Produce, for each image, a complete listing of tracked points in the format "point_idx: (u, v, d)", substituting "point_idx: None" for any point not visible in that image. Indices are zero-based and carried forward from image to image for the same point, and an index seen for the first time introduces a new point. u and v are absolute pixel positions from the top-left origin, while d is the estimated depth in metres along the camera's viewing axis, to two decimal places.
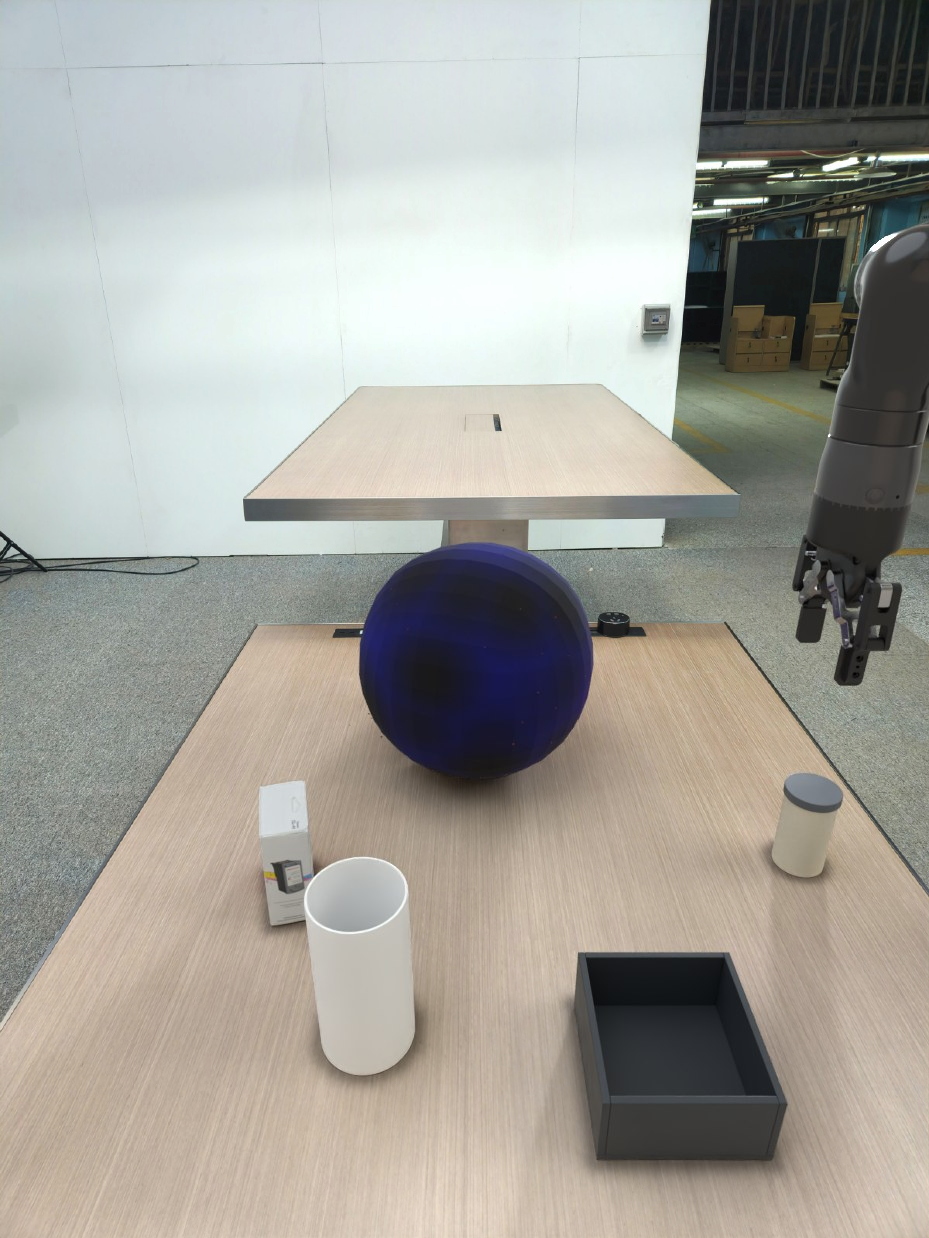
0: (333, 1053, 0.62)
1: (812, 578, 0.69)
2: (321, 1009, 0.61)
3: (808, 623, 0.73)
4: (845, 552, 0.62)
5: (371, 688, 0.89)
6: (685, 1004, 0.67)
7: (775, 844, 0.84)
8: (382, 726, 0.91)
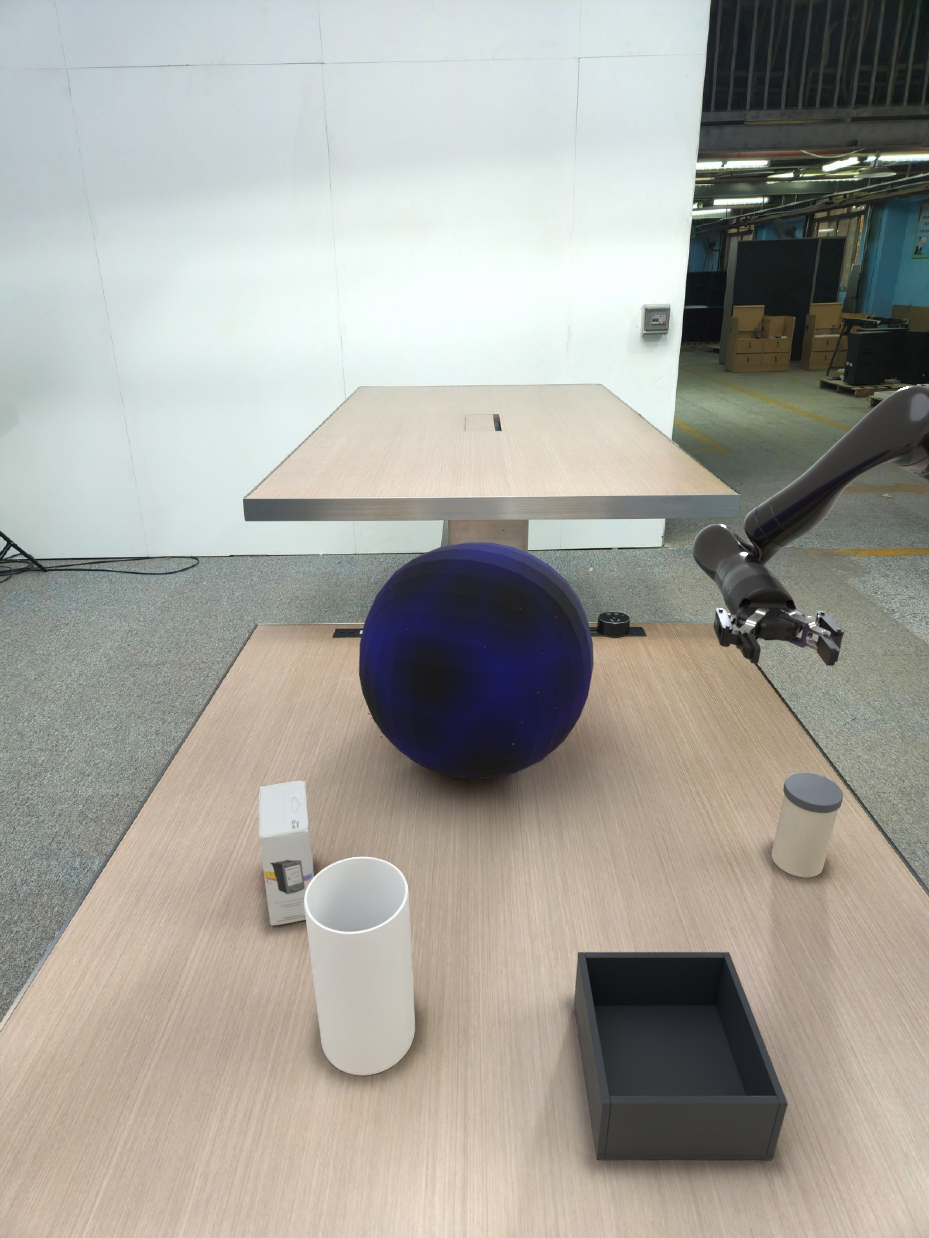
0: (333, 1053, 0.62)
1: None
2: (321, 1009, 0.61)
3: (822, 652, 0.88)
4: None
5: (371, 688, 0.89)
6: (685, 1004, 0.67)
7: (775, 844, 0.84)
8: (382, 726, 0.91)
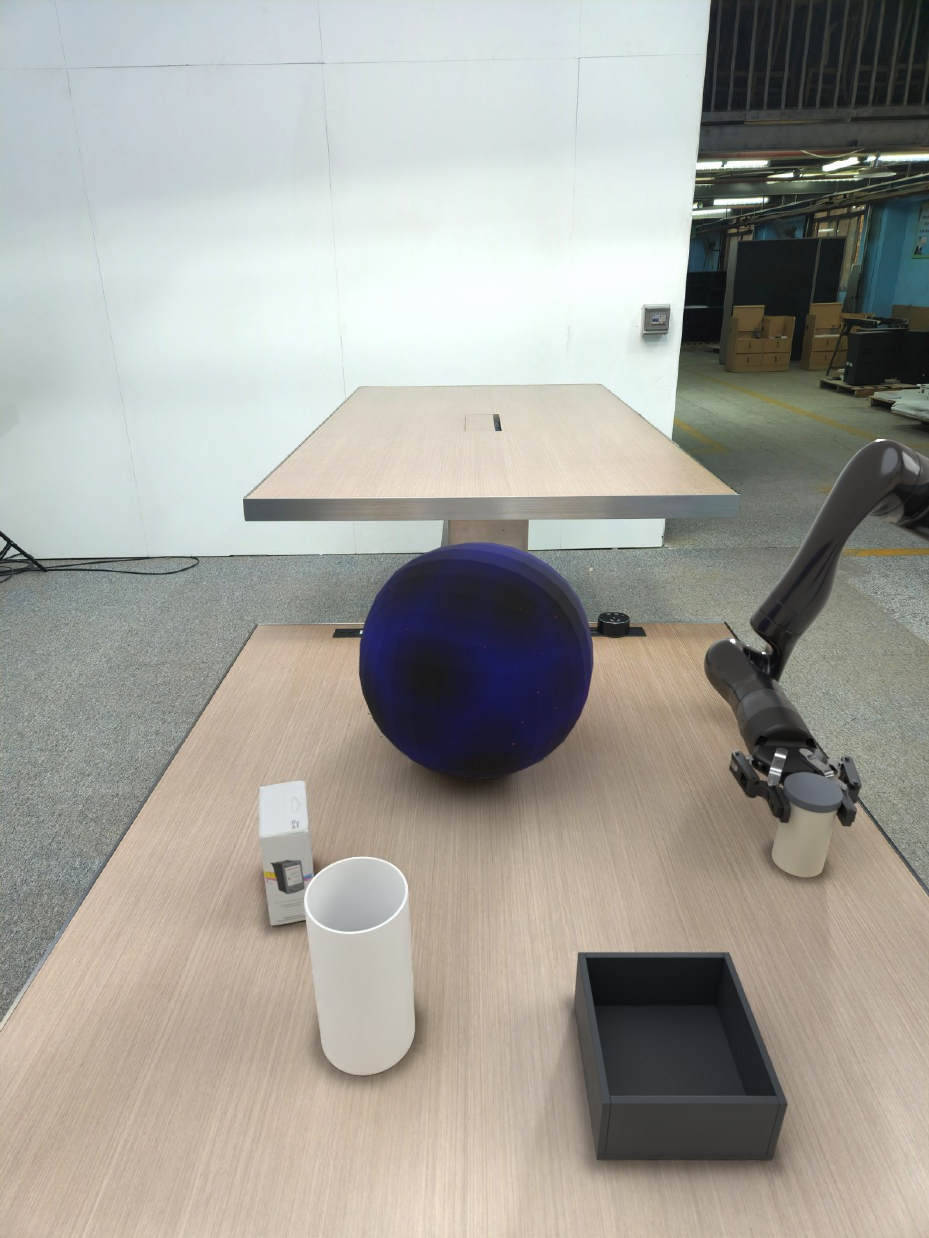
0: (333, 1053, 0.62)
1: None
2: (321, 1009, 0.61)
3: None
4: None
5: (371, 688, 0.89)
6: (685, 1004, 0.67)
7: (775, 844, 0.84)
8: (382, 726, 0.91)
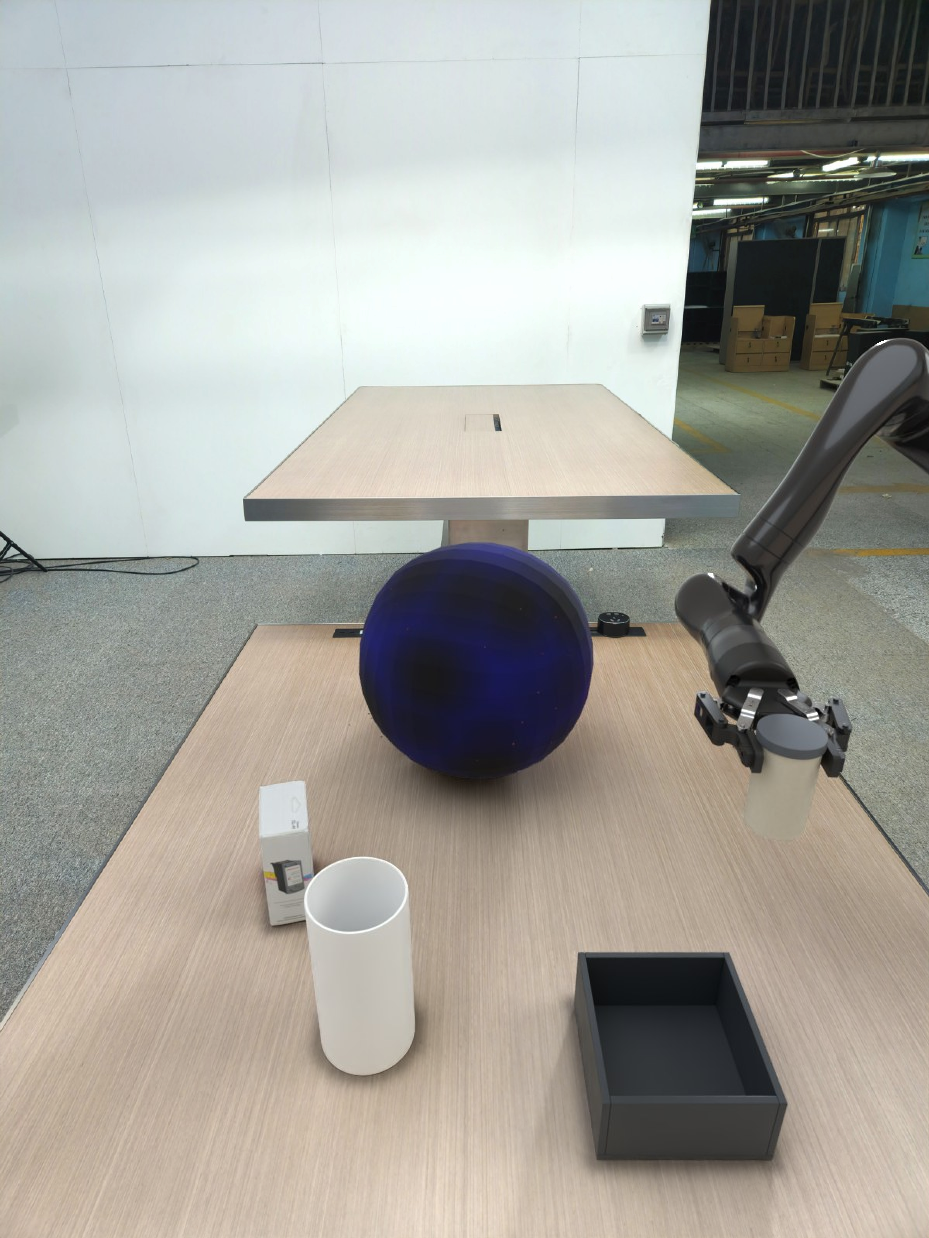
0: (333, 1053, 0.62)
1: None
2: (321, 1009, 0.61)
3: (822, 758, 0.66)
4: None
5: (371, 688, 0.89)
6: (685, 1004, 0.67)
7: (747, 802, 0.69)
8: (382, 726, 0.91)
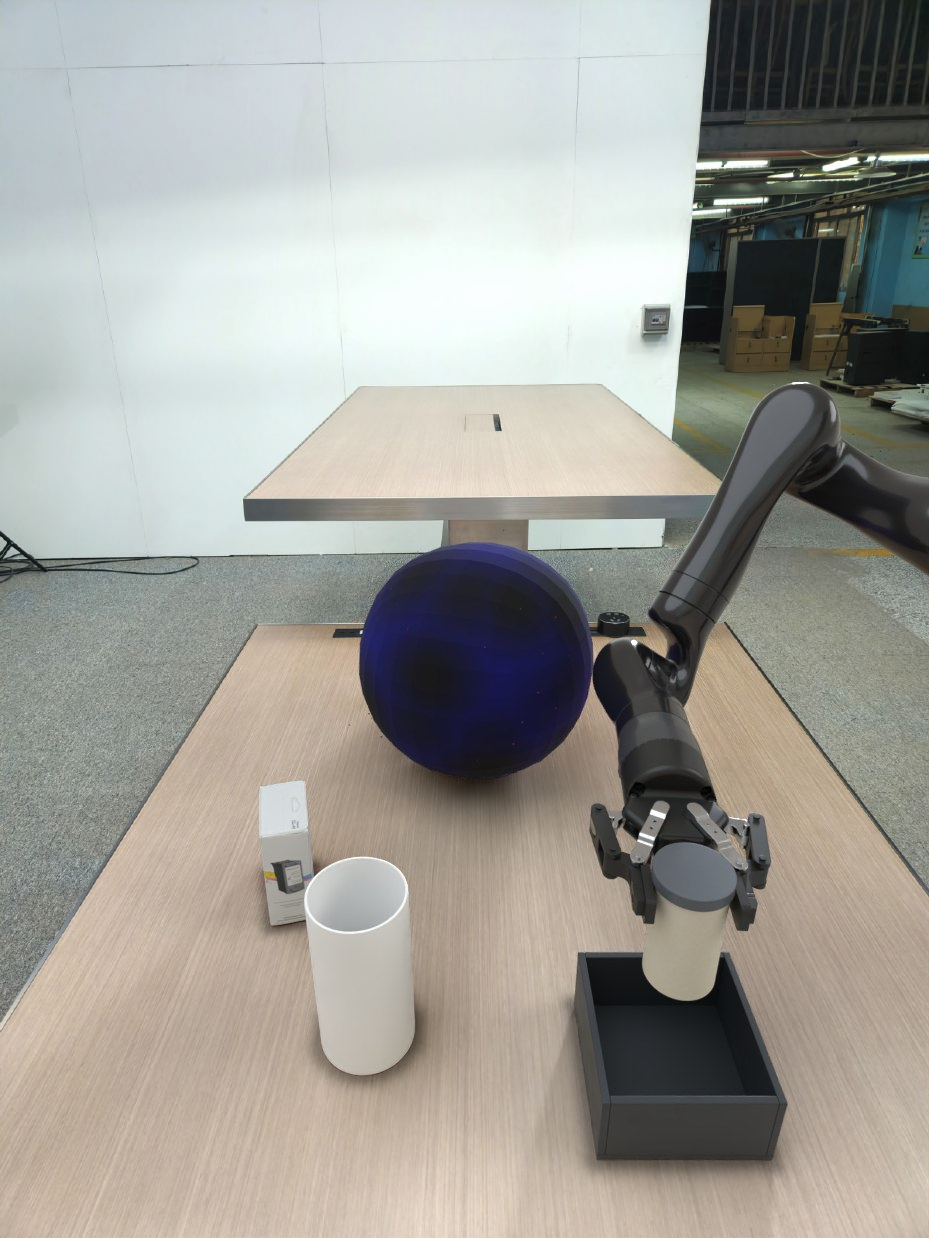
0: (333, 1053, 0.62)
1: None
2: (321, 1009, 0.61)
3: (732, 902, 0.53)
4: None
5: (371, 688, 0.89)
6: (685, 1004, 0.67)
7: (644, 947, 0.57)
8: (382, 726, 0.91)
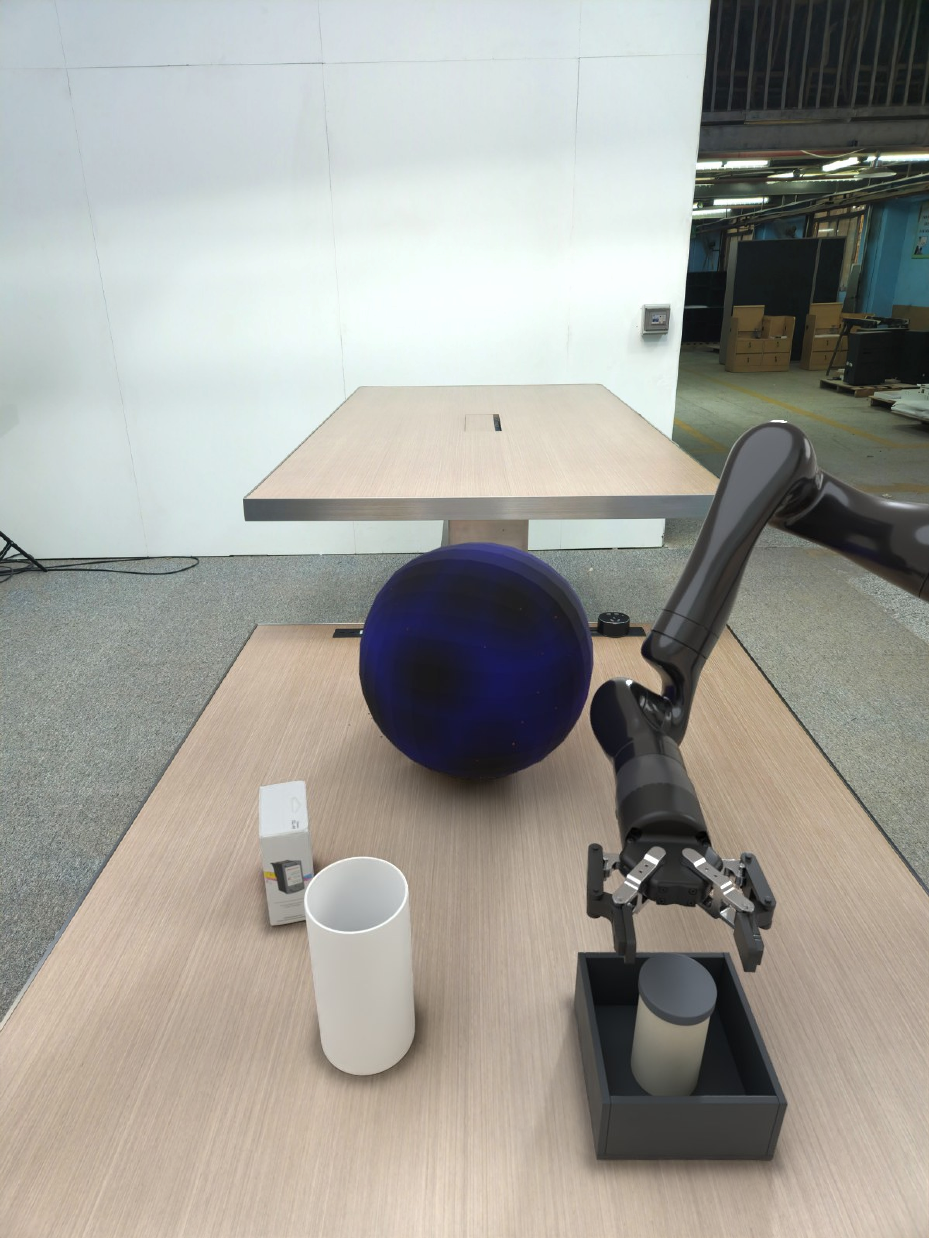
0: (333, 1053, 0.62)
1: None
2: (321, 1009, 0.61)
3: (739, 944, 0.56)
4: None
5: (371, 688, 0.89)
6: None
7: (633, 1049, 0.61)
8: (382, 726, 0.91)
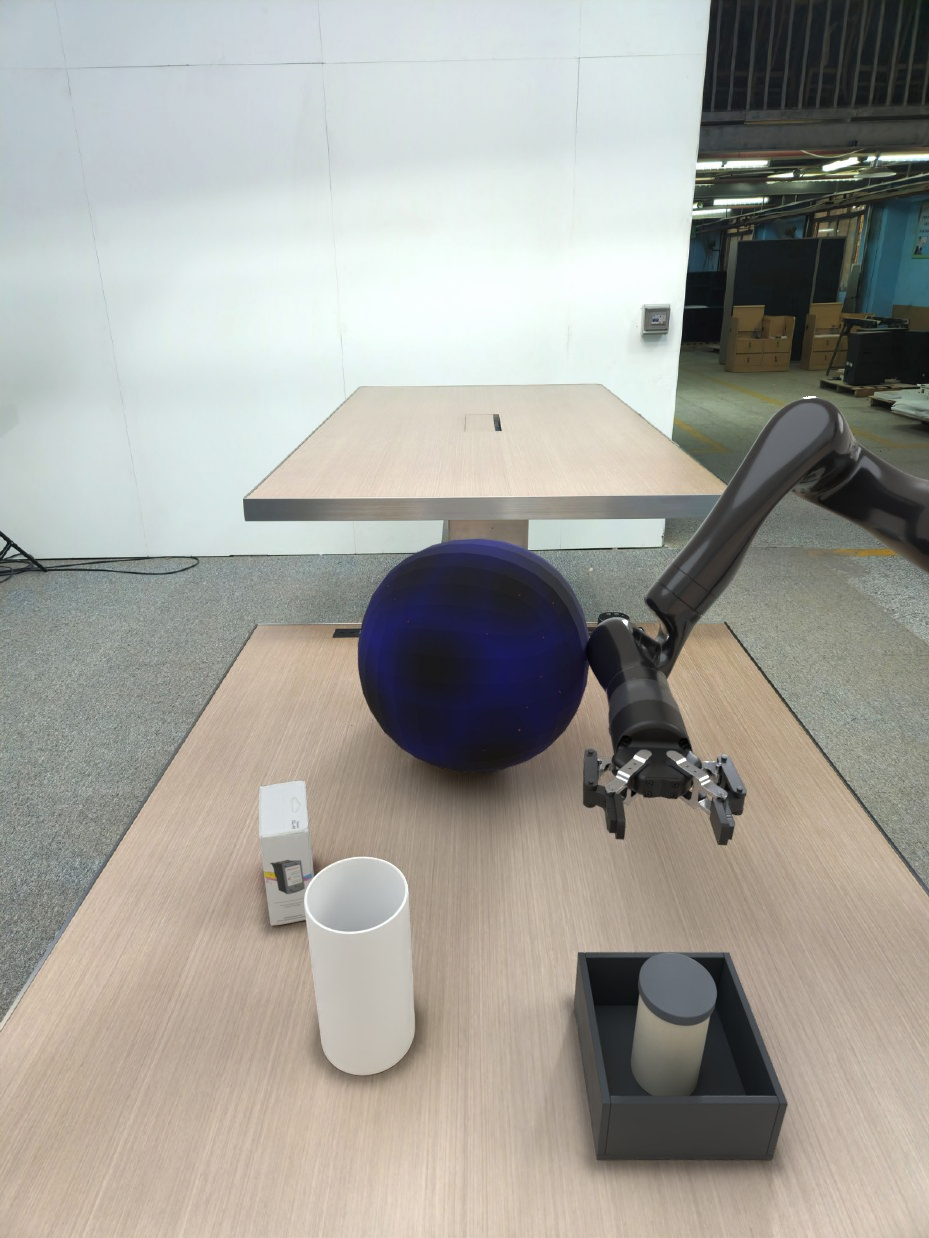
0: (333, 1053, 0.62)
1: None
2: (321, 1009, 0.61)
3: (714, 824, 0.65)
4: None
5: (373, 685, 0.89)
6: None
7: (633, 1049, 0.61)
8: (385, 723, 0.91)
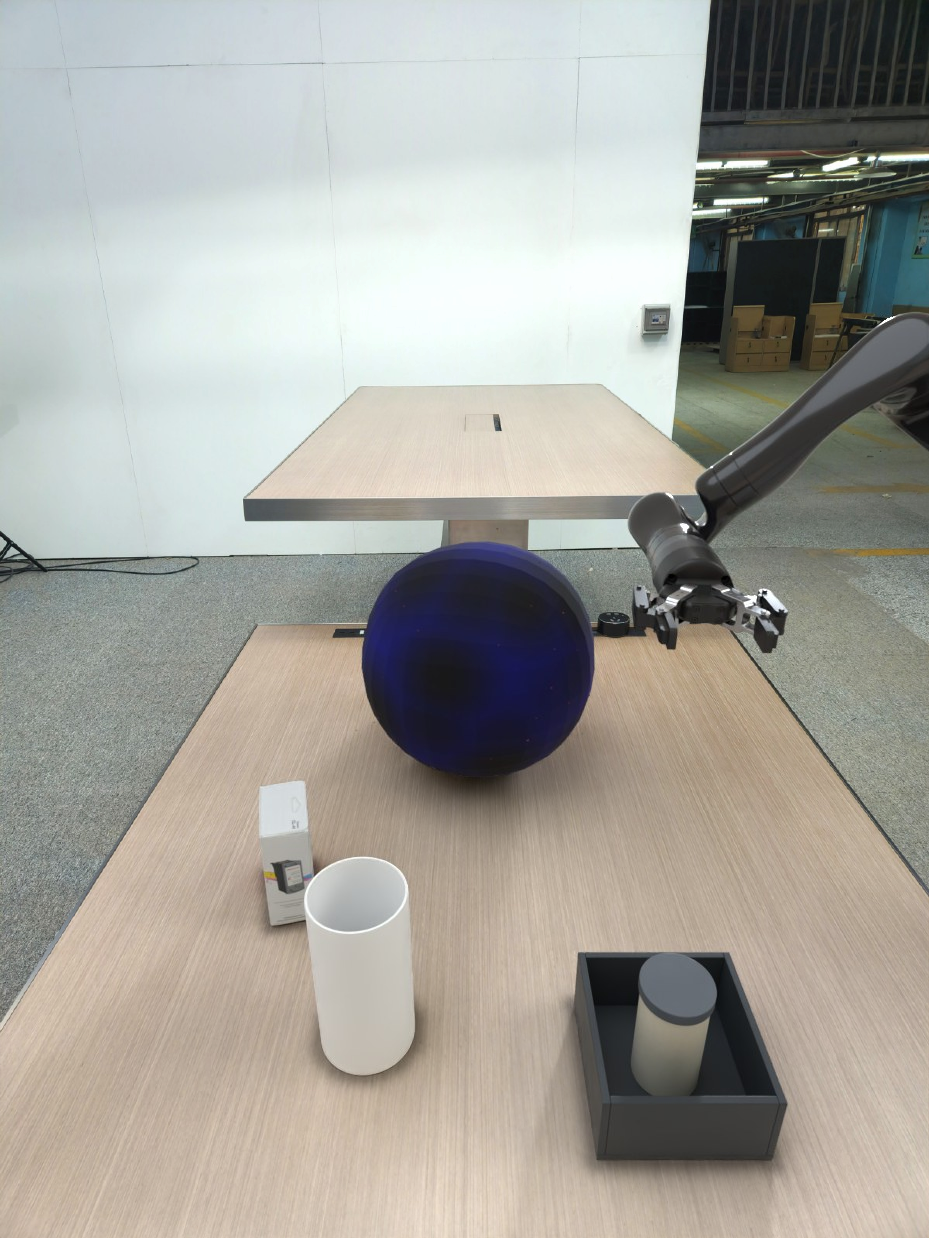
0: (333, 1053, 0.62)
1: None
2: (321, 1009, 0.61)
3: (758, 637, 0.70)
4: None
5: (380, 691, 0.89)
6: None
7: (633, 1049, 0.61)
8: (391, 729, 0.91)
